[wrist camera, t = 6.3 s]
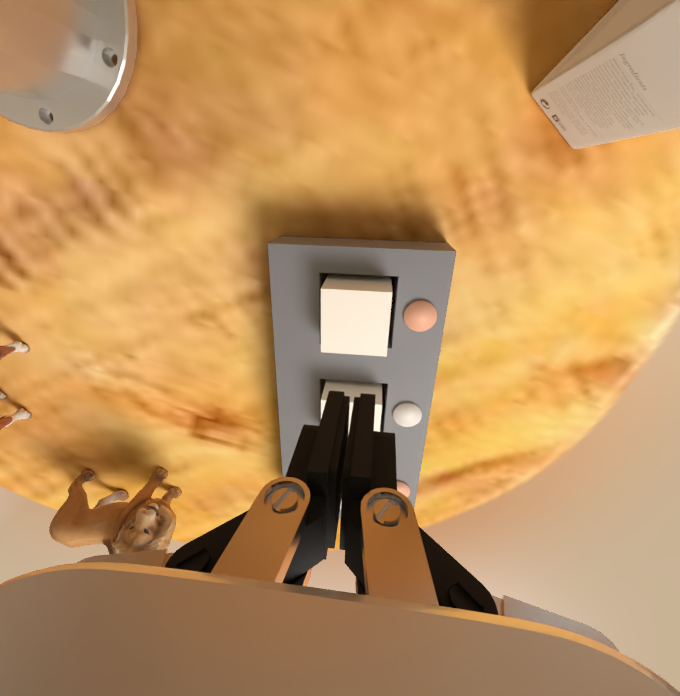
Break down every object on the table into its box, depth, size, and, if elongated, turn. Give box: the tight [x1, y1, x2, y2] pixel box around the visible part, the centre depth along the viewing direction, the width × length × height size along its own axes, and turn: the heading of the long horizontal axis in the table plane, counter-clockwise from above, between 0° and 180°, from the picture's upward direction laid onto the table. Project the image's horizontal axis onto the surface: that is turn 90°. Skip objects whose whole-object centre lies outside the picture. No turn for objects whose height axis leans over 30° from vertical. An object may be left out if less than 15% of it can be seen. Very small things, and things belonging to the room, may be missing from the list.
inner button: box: [321, 273, 392, 357], centre depth 22 cm, size 4×4×4 cm
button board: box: [268, 236, 456, 518], centre depth 27 cm, size 23×11×3 cm, turn 179°
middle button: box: [321, 379, 382, 435], centre depth 25 cm, size 4×4×4 cm
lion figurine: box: [49, 468, 182, 554], centre depth 32 cm, size 15×5×9 cm, turn 105°
